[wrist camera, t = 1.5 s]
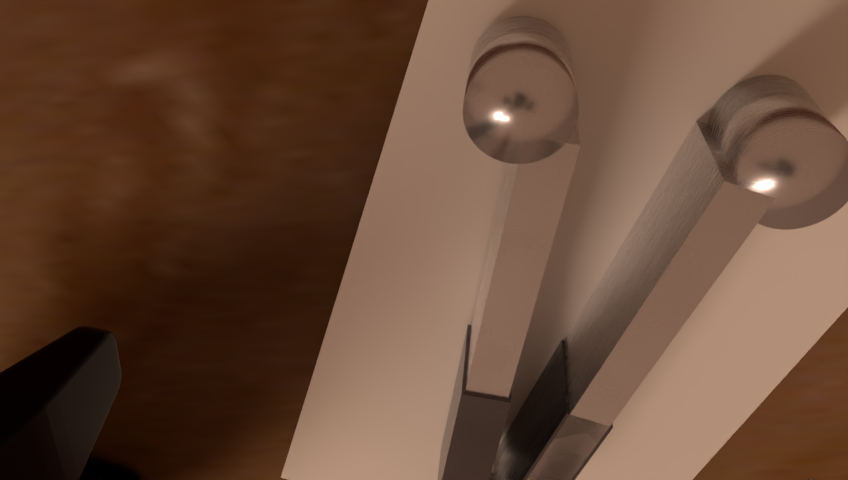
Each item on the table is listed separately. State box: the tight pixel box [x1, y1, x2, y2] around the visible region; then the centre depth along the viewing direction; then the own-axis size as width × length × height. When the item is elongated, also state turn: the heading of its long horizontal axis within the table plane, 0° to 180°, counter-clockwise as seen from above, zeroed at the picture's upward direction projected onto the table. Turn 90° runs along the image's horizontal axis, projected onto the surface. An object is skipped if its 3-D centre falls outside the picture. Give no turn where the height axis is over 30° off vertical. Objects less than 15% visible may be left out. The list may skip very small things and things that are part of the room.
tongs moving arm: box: [437, 16, 581, 480], centre depth 20 cm, size 16×3×3 cm, turn 173°
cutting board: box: [281, 0, 848, 480], centre depth 22 cm, size 23×14×1 cm, turn 163°
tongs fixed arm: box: [489, 75, 848, 480], centre depth 20 cm, size 19×4×4 cm, turn 163°
